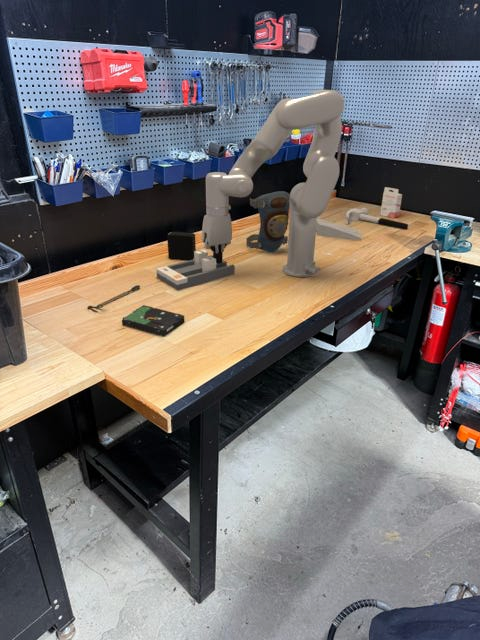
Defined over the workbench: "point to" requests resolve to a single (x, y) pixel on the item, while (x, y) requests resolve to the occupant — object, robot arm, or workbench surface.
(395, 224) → the claw hammer
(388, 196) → the ink cartridge box
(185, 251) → the electronic device
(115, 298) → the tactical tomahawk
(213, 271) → the grey slotted tray
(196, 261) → the tab far
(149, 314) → the disk drive
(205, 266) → the tab near
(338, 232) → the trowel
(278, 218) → the knee pad
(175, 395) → the workbench surface
